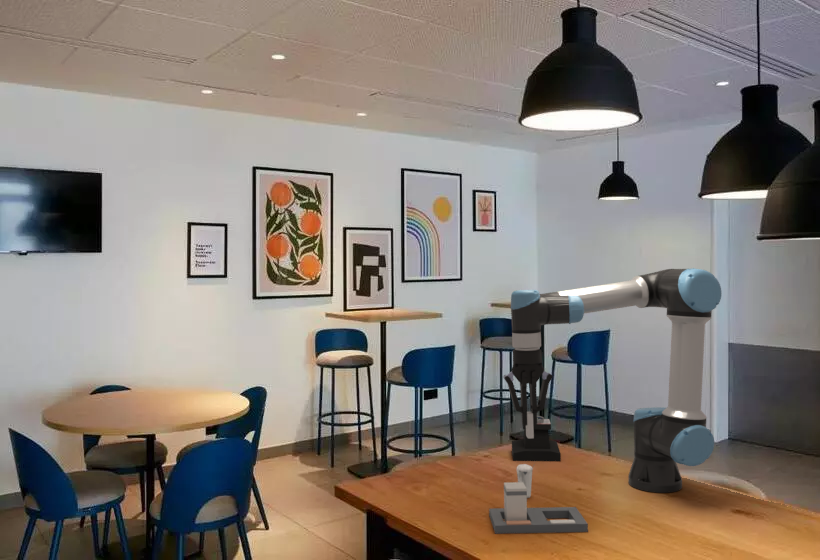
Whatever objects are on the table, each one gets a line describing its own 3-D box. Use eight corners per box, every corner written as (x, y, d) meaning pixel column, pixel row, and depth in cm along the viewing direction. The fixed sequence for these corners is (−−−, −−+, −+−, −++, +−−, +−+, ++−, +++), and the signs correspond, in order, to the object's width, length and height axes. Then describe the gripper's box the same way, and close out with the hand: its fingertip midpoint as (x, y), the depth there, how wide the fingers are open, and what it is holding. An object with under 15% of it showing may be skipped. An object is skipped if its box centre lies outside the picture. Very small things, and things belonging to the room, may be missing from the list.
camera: (512, 423, 232) (510, 409, 246) (513, 464, 233) (511, 448, 248) (560, 423, 230) (555, 409, 245) (560, 464, 232) (555, 448, 246)
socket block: (575, 514, 182) (575, 505, 182) (587, 531, 170) (587, 522, 170) (489, 516, 182) (489, 507, 182) (495, 533, 170) (495, 524, 170)
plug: (523, 520, 178) (523, 482, 178) (527, 527, 173) (526, 488, 173) (504, 520, 178) (503, 482, 178) (507, 528, 173) (506, 488, 173)
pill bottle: (535, 499, 194) (535, 464, 194) (516, 498, 195) (516, 463, 195) (535, 494, 199) (535, 459, 198) (517, 493, 200) (516, 459, 200)
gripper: (548, 345, 185) (551, 432, 186) (500, 347, 185) (503, 434, 185) (554, 349, 177) (557, 439, 178) (504, 351, 177) (507, 441, 178)
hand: (529, 437), depth 182 cm, fingers closed
